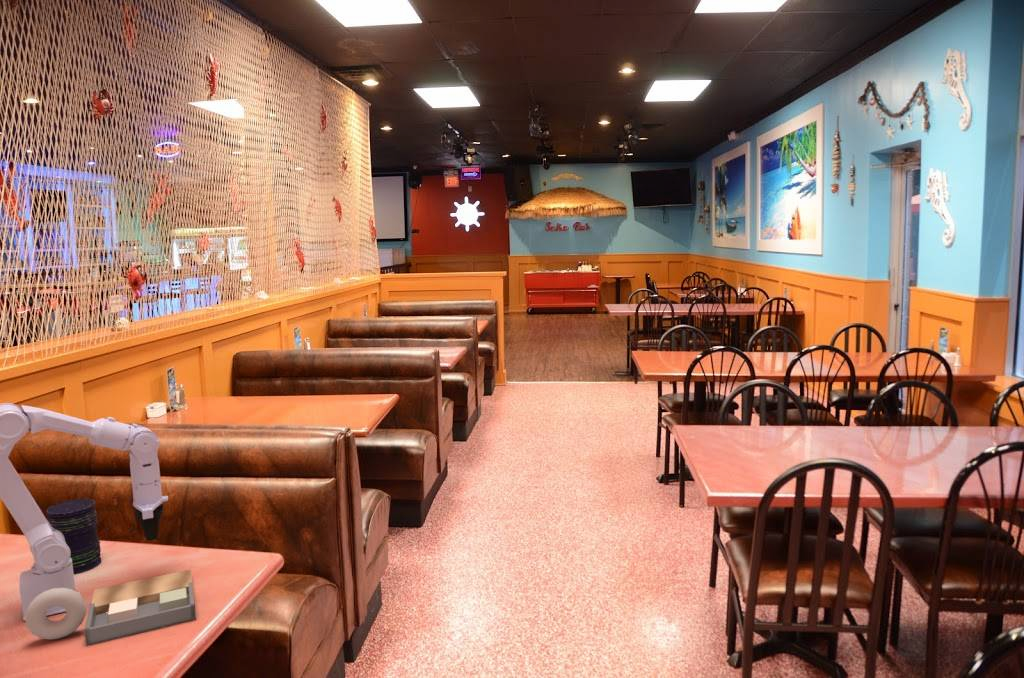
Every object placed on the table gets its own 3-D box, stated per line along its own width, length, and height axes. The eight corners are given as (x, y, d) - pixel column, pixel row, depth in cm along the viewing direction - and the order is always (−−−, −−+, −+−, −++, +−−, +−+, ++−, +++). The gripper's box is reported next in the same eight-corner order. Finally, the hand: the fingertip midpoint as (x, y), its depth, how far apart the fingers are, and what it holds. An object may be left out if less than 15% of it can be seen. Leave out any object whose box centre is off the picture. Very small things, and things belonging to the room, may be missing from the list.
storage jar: (49, 579, 163) (41, 516, 161) (57, 562, 172) (50, 503, 170) (99, 569, 167) (92, 508, 165) (104, 554, 176) (97, 495, 174)
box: (86, 645, 134) (84, 630, 134) (91, 617, 145) (89, 604, 144) (196, 619, 142) (194, 605, 142) (193, 595, 153) (192, 581, 152)
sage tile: (160, 612, 145) (159, 603, 145) (160, 602, 149) (159, 593, 149) (187, 606, 147) (186, 597, 147) (186, 596, 151) (185, 587, 151)
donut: (27, 649, 134) (20, 599, 132) (29, 640, 137) (23, 591, 135) (88, 635, 138) (82, 586, 137) (89, 626, 141) (84, 579, 140)
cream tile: (109, 624, 141) (108, 614, 141) (111, 612, 146) (109, 603, 145) (137, 617, 143) (136, 608, 143) (138, 606, 148) (137, 597, 147)
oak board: (91, 617, 145) (90, 607, 145) (95, 598, 153) (94, 589, 153) (193, 594, 153) (192, 585, 153) (191, 577, 161) (190, 569, 161)
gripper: (165, 487, 154) (171, 547, 156) (166, 469, 167) (171, 524, 169) (129, 493, 151) (135, 553, 153) (132, 474, 164) (138, 530, 166)
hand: (152, 539), depth 161 cm, fingers closed
